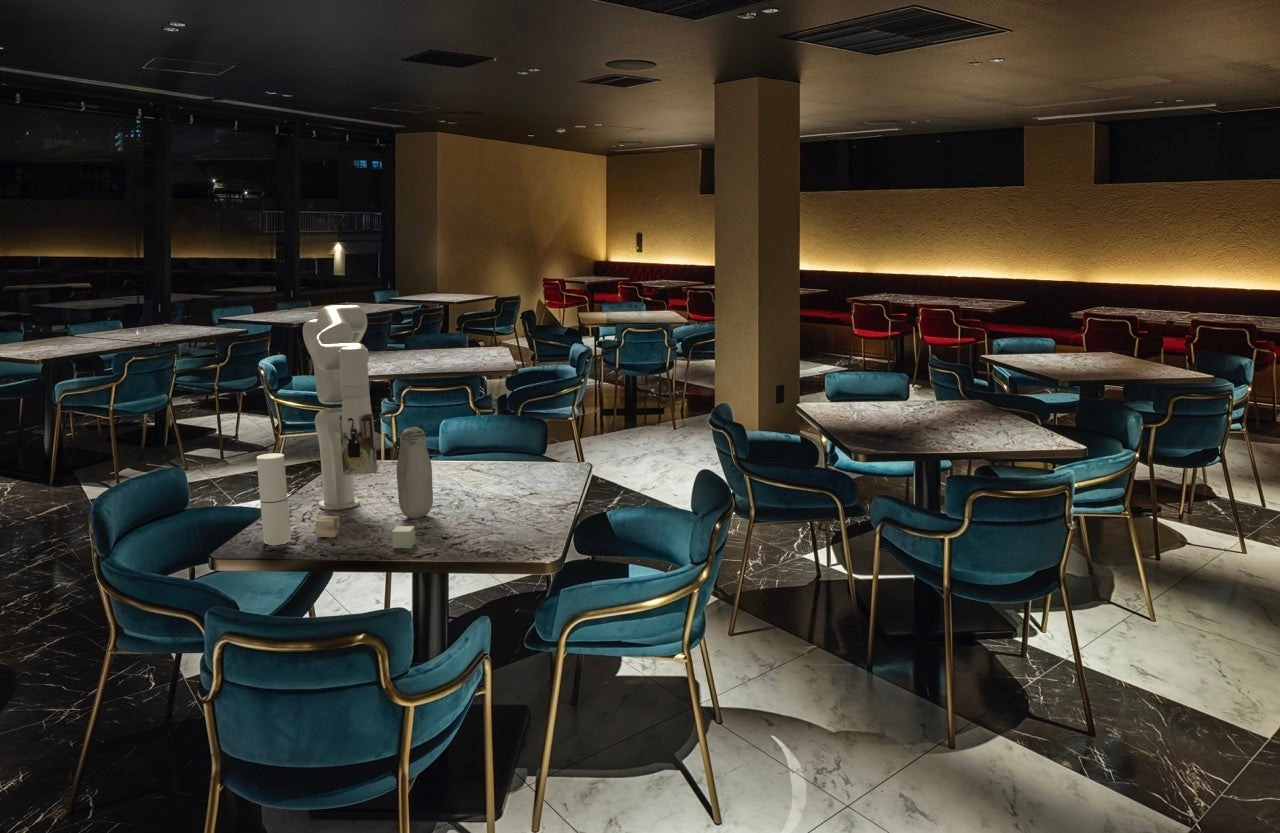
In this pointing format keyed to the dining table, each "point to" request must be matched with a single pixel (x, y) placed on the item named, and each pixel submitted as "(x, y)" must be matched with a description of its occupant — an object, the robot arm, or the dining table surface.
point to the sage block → (403, 537)
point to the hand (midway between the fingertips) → (359, 453)
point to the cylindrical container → (273, 498)
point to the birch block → (327, 526)
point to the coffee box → (367, 449)
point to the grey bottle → (414, 474)
